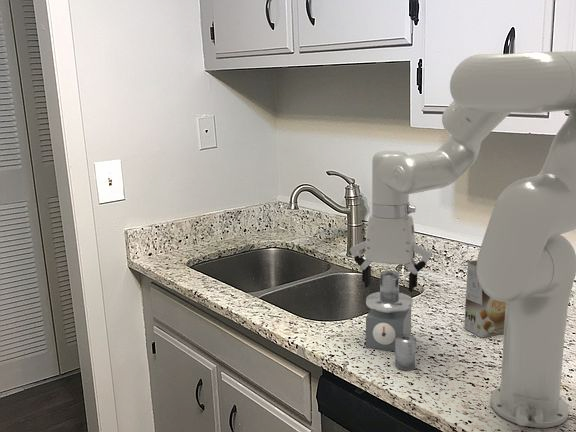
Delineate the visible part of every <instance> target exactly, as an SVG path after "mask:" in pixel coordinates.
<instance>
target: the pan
mask: <svg viewBox="0 0 576 432" xmlns="http://www.w3.org/2000/svg"><path fill="white" fill-rule="evenodd" d="M413 302H414V301H413V298H412V297H411V296H410V295H408V294H406V293H403V292H399V301H398V302H395V303H385V302H382V301H381V300H380V291H376V292H373V293H370V294H368V295H367V296H366V298H365V304H366V305H365V306H366V307H368V308H369V309H370V310H371V309H373V310H375V311H379V312H386V313H397V312H403V311H406V310H409V309H410V308H411V309H413V308H412V307H413V305H414V303H413Z"/></svg>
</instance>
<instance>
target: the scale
mask: <svg viewBox="0 0 576 432" xmlns="http://www.w3.org/2000/svg"><path fill="white" fill-rule="evenodd" d="M402 334H407V335H411V334H412V308H410V309H409V310H406V311H403V312H397V313H386V312H379V311H375V310H373V309H371V308H370V309H369V311H368V313H367V314H366V316H365V348H369V349H375V350H376V349H377V350H383V351H390V352H395V338H396V336H398V335H402Z"/></svg>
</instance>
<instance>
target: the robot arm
mask: <svg viewBox="0 0 576 432" xmlns="http://www.w3.org/2000/svg"><path fill="white" fill-rule="evenodd" d="M449 92H450V95H451V97H452V100H453V101H452V102H451V103H450V104H449V105H448V106H447V107H446V108H445V109H444V111H443V112H442V115H441V123H442V126H443V129H444V130H445V132H446V134H448V135H449V138H448V139H447V140H446V141H445V143H443V144H442V145H441V146H440V147H439V148H438V149H437V150H436V151H428V152H427V151H426V152H421V153H416V154H409V155H408V154H407V153H406V152H404V151H401V150H383V151H379V152H376V153H375V154H374V155H373V157H372V164H371V165H372V167H371V169H372V170H371V172H372V175H371V178H372V179H371V180H372V181H371V183H372V184H371V185H372V186H371V188H372V189H371V192H372V193H371V196H372V198H371V199H372V200H371V201H372V202H371V206H372V207H371V209H372V211H371V212H372V213H371V214H369V216H368V222H367V226H366V234H365V235H366V237H365V240H364V241H362V242H360V243H357V244H355V245H353V246H351V247H350V248H349V253H350V254H351V255H352V257H353V260H354V262H355V263H356V264H357V265H358V266H359V267H360V269H361V271H362V272H361V274H362V275H361V278H362V280H361V281H362V283H364V288H369V287H370V285H371V283H372V267H371V265H370V264H371V263H377V264H389V265H398V266H399V265H403V266H404V265H405V266H406V267H407V269H409V271H410V272H409V274H408V292H409V293H413V291H414V289H415V288H417V286H418V273H419V272H420V271H421V270H422V269H423V268H425V267H426V265H427V263H428V261H430V259H431V257H432V253H431V252H430V251H428V250H426V249H425V248H423V247H422V246H420V245H418V244H416V242H415V241H416V237H415V236H416V235H415V225H414V219H413V216H412V215H410V214H412V213H416V210H417V209H416V205H411V204H410V201H409V196H410V195H414V194H419V193H423V192H427V191H433V190H438V189H444V188H446V187H448V186H450V185H452V184H453V183H455V182H456V181H457V180H458V179H459V178H460V177H462V175H464V174H465V173H466V172H467V171H468V170H469V169H470V168H471V166H473V165H474V163H475V162H476V160H477V158H478V157H479V153H480V150H481V148H482V147H481V145H482V141H483V140H485V138H487V136H488V135H490V133H492V131H493V130H494V129H495V128H496V127H498V125H499V124H501V123H502V122H503V121H504V120H505V119H506V118H507V117H508V116H510V114H511V113H521V114H522V113H523V114H543V113H552V112H553V113H554V112H564V111H568V112H569V113H568V116H567V119H566V120H565V122H564V123H563V124H562V126H561V127H560V129H559V130H558V132H557V133H556V134H555V136H554V138H553V139H552V142H551V145H550V147H549V151H548V154H547V156H546V160H545V161H544V163H543V166H542V168H541V170H540V172H539V173H537V174H536V175H533V176H528V177H524V178H520V179H518V180H515V181H514V182H512V183H511V184H509V185H507V187H506V188H504V189H503V191H502V192H501V193H500V195H499V196H498V198H497V199H496V201H495V204H494V206H493V209H492V212H491V214H490V218H489V220H488V223H487V227H486V229H485V233H484V237H483V239H482V242H481V245H480V248H479V251H478V255H477V257H476V258H477V259H476V260H477V265H476V273H477V279H478V282H479V284H480V286H481V288H482V290H483V291H484V292H485V293H486V294H487V295H488V296H489V297H491V298H492V299H494V300H497V301H501V302H507V304H506V310H505V321H504V333H503V340H502V359H501V374H500V375H501V377H500V387H498V388H496V389H495V390H493V391H492V393H491V394H490V405H491V408H492V409H493V411H494V412H496V414H497V415H499V416H500V417H502V419H504V420H507V421H509V422H512V423H514V424H517V425H519V426H521V427H531V428H537V429H543V428H551V427H553V428H554V427H557V426H559V425H562V424H563V423H565V422H566V421H567V419H568V418H569V410H570V409H569V406H568V404H567V402H566V401H565V399H564V398H562V397H561V385H562V384H561V383H562V374H563V360H564V351H565V350H564V348H565V337H566V336H565V335H566V329H567V328H566V327H567V318H568V317H567V316H568V307H569V303H570V297H571V293H572V289H573V285H574V282H575V277H576V251H575V248H574V246H573V244H572V243H571V242H570V241H569V239H567V238H566V237H565V236H563V234H566V233H569V232H572V231H574V230H576V51H575V50H570V51H568V50H567V51H534V52H533V51H532V52H519V53H516V52H515V53H500V54H499V53H498V54H497V53H494V54H493V53H491V54H489V53H488V54H483V53H482V54H480V53H479V54H474V55H470V56H468V57H466V58H465V59H463V60H462V61H460V63H459V64H458V65H457V66H456V67H455V69H454V70H453V72H452V74H451V76H450V81H449ZM364 249H365V250H364ZM361 250H364V253H365V254H364V255H365V257H364V258H365V259H364V258H363V257H362V255H361V254H360V251H361ZM416 254H418V255H419V256H421V257H422V259H421V260H420V261H419V262H418V263H417V262H416V260H415V255H416Z"/></svg>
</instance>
